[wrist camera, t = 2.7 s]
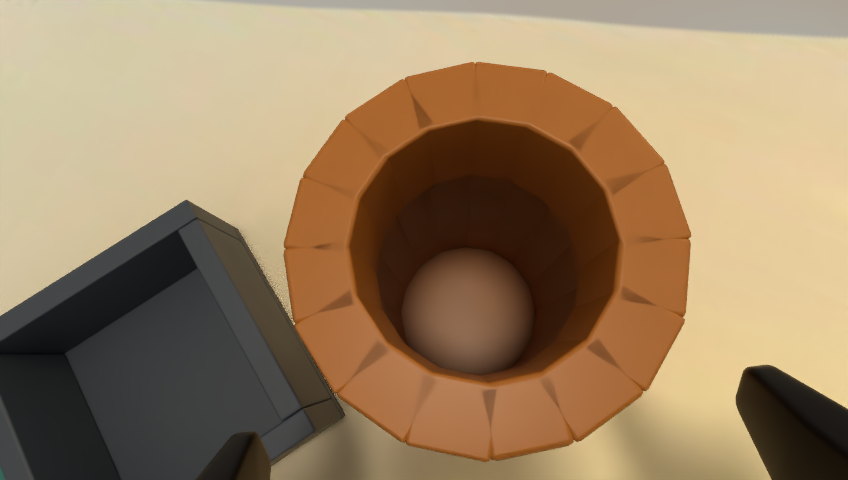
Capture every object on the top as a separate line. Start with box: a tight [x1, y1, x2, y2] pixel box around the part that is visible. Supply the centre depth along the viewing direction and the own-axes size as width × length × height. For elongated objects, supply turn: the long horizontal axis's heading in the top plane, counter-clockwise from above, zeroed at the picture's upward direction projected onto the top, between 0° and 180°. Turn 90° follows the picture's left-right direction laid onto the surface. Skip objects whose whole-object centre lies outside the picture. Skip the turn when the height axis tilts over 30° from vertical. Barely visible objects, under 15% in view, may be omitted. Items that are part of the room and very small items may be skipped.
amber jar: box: [284, 62, 691, 462], centre depth 13 cm, size 6×6×12 cm
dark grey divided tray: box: [0, 200, 345, 480], centre depth 17 cm, size 9×17×4 cm, turn 123°
